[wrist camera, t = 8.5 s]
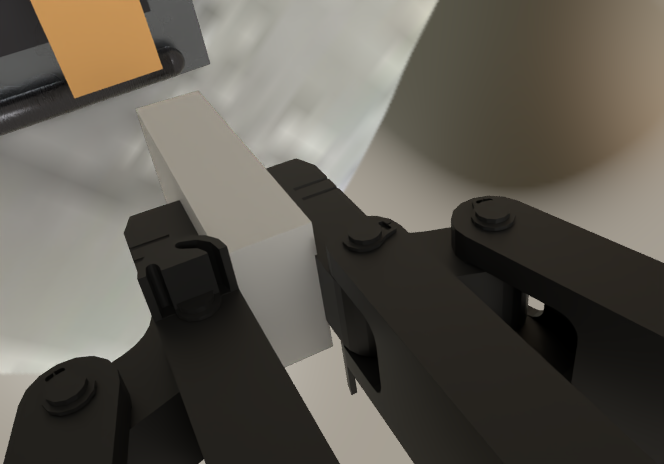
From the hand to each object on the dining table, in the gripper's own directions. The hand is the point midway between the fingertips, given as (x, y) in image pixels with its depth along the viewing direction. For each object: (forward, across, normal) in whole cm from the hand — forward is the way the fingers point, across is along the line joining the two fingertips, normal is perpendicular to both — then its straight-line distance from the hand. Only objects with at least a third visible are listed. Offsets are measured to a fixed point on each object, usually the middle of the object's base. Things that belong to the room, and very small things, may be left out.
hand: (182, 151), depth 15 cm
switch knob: (+16, -1, +1) cm, 16 cm away
